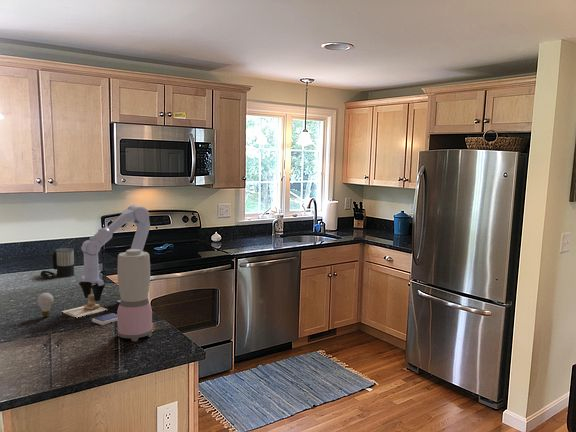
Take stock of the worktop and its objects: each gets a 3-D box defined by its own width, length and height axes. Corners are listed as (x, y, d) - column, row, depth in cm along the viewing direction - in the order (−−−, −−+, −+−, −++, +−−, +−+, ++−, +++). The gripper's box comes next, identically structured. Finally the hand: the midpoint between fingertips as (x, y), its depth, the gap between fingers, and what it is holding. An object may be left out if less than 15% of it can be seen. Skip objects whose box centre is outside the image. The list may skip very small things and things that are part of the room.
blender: (159, 335, 174) (158, 250, 170) (129, 344, 164) (128, 254, 161) (135, 325, 184) (133, 245, 180) (106, 333, 174) (104, 249, 171)
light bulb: (38, 315, 193) (38, 291, 192) (54, 313, 195) (53, 290, 194) (36, 319, 188) (35, 295, 187) (53, 318, 190) (52, 294, 189)
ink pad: (112, 315, 194) (111, 312, 194) (122, 319, 190) (122, 315, 190) (92, 321, 187) (91, 317, 187) (102, 325, 183) (101, 321, 183)
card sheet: (92, 304, 209) (92, 303, 209) (107, 309, 202) (107, 309, 202) (61, 312, 198) (61, 311, 198) (76, 318, 191) (76, 317, 191)
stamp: (92, 306, 206) (91, 293, 205) (99, 307, 204) (99, 294, 203) (83, 309, 201) (83, 295, 201) (91, 310, 200) (91, 297, 199)
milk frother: (78, 274, 265) (77, 248, 264) (61, 280, 250) (60, 253, 248) (55, 272, 267) (54, 247, 266) (36, 279, 252) (35, 252, 250)
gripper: (73, 267, 202) (74, 298, 203) (92, 272, 193) (93, 304, 195) (88, 264, 208) (89, 294, 209) (107, 269, 199) (108, 300, 201)
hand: (92, 299), depth 202 cm, fingers open, 7 cm apart
